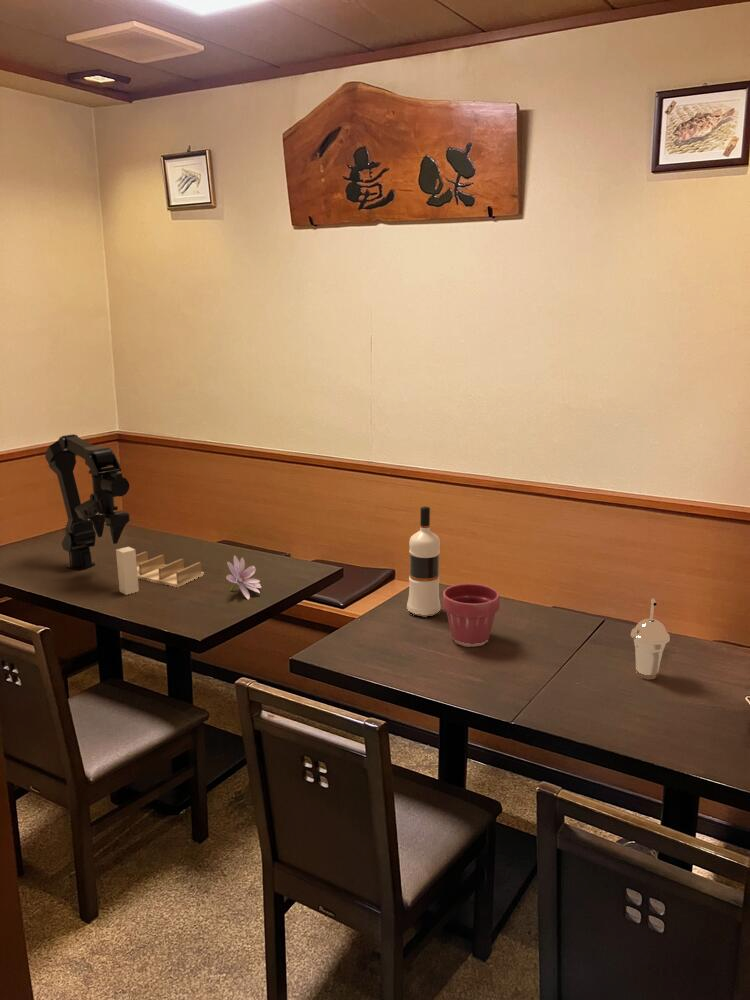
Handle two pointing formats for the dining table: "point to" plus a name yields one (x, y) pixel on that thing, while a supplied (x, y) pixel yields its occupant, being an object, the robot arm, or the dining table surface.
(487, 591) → the plant pot
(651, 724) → the dining table surface
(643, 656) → the cup with straw
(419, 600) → the vodka
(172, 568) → the drying rack
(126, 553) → the clay bar
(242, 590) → the water lily
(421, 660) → the dining table surface
